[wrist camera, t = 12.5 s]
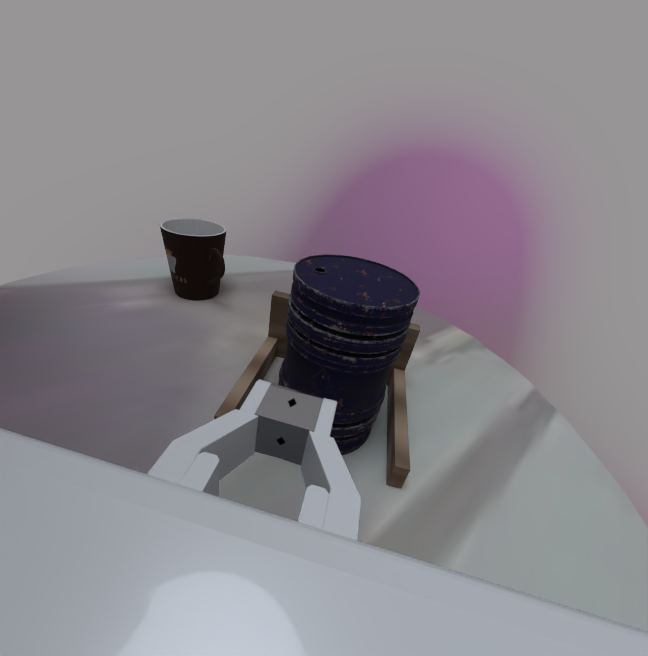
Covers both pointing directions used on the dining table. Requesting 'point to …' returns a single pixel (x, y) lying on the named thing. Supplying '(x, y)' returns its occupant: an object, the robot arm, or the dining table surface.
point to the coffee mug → (194, 256)
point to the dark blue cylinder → (346, 337)
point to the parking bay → (396, 383)
